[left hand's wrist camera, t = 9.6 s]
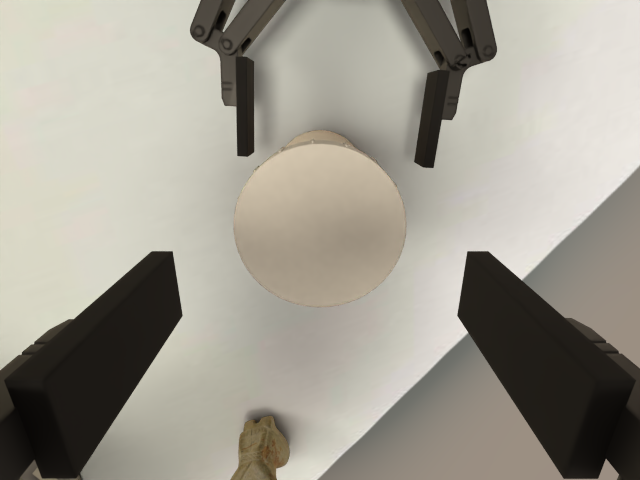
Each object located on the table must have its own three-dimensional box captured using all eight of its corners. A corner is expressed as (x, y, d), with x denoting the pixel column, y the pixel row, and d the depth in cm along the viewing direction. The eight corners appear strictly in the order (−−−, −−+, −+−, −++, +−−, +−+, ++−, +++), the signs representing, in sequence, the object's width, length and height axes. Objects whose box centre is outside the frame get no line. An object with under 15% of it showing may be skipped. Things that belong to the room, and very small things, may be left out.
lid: (260, 115, 19) (254, 117, 17) (424, 166, 20) (435, 173, 18) (226, 268, 22) (217, 283, 20) (368, 306, 23) (373, 324, 21)
